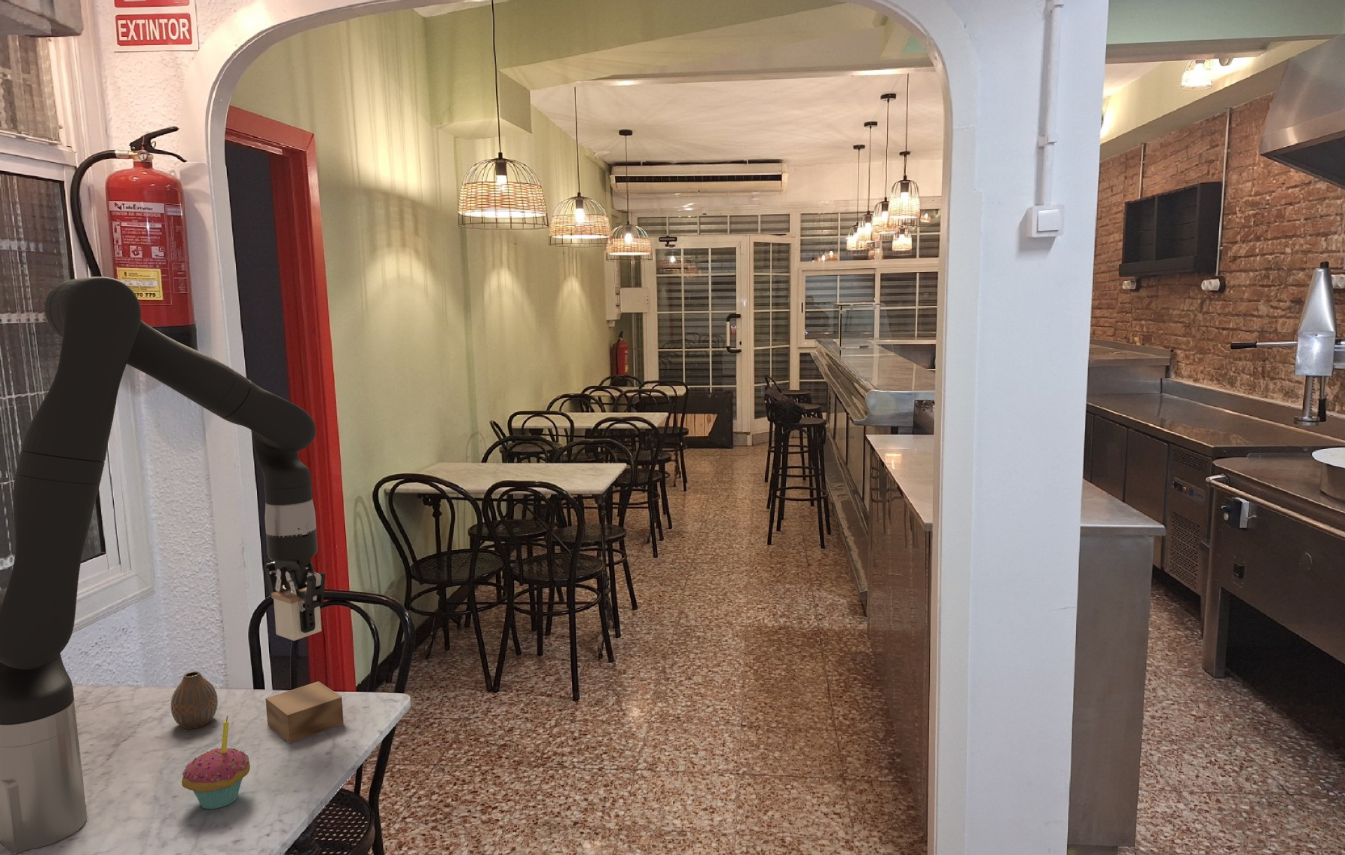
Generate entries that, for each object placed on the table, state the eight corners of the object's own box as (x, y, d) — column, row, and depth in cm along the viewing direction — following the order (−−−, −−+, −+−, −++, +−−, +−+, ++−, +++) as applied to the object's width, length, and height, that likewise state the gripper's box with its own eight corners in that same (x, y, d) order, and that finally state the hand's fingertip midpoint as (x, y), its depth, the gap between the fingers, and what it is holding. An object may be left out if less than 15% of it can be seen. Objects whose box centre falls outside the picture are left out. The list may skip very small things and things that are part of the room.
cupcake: (236, 777, 128) (230, 701, 127) (263, 797, 123) (257, 718, 121) (174, 803, 122) (167, 723, 120) (200, 825, 117) (192, 742, 115)
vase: (227, 714, 149) (223, 666, 148) (202, 734, 142) (198, 683, 141) (190, 713, 150) (186, 665, 148) (163, 732, 143) (158, 682, 142)
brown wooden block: (289, 744, 139) (287, 715, 138) (267, 726, 145) (265, 698, 144) (343, 725, 145) (341, 697, 144) (320, 708, 151) (318, 681, 151)
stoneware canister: (293, 641, 139) (290, 599, 138) (274, 634, 142) (271, 593, 141) (323, 631, 144) (320, 589, 143) (304, 624, 147) (301, 584, 146)
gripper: (244, 527, 141) (252, 626, 144) (295, 539, 133) (302, 644, 136) (287, 517, 147) (294, 613, 150) (338, 528, 139) (344, 629, 142)
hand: (298, 627), depth 143 cm, fingers closed on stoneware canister, 5 cm apart
